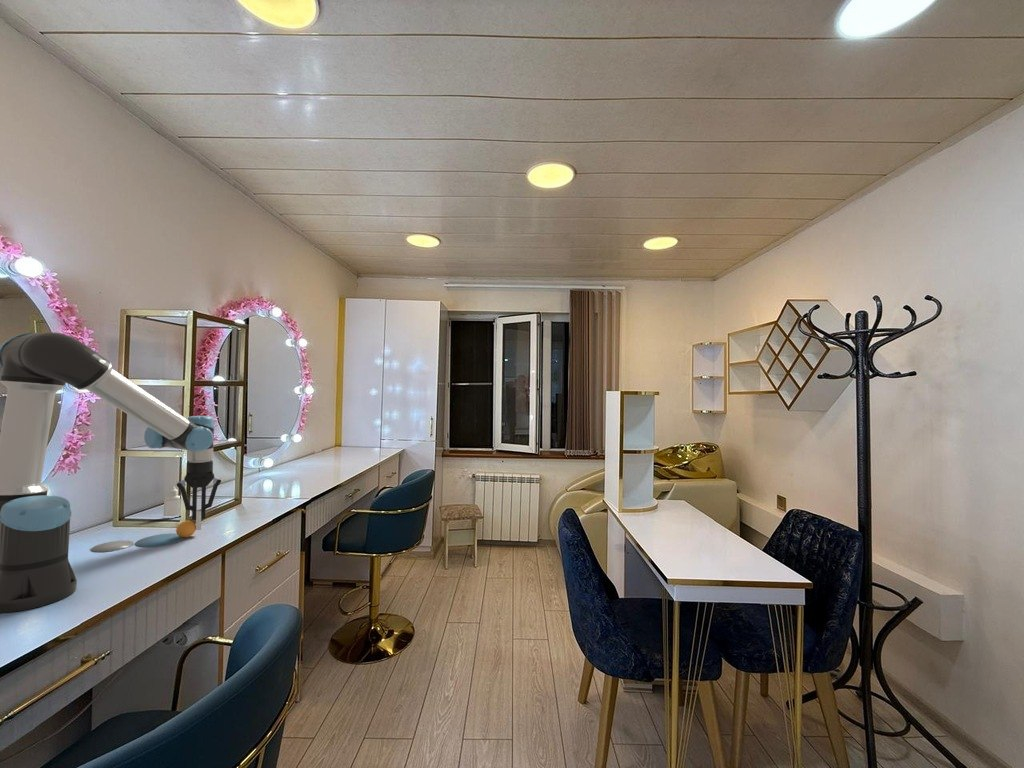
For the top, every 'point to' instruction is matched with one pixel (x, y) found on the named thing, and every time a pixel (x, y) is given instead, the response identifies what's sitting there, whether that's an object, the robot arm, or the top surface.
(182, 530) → the ball
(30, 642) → the top surface
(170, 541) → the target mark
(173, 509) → the eye dropper bottle
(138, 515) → the top surface
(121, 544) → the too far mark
